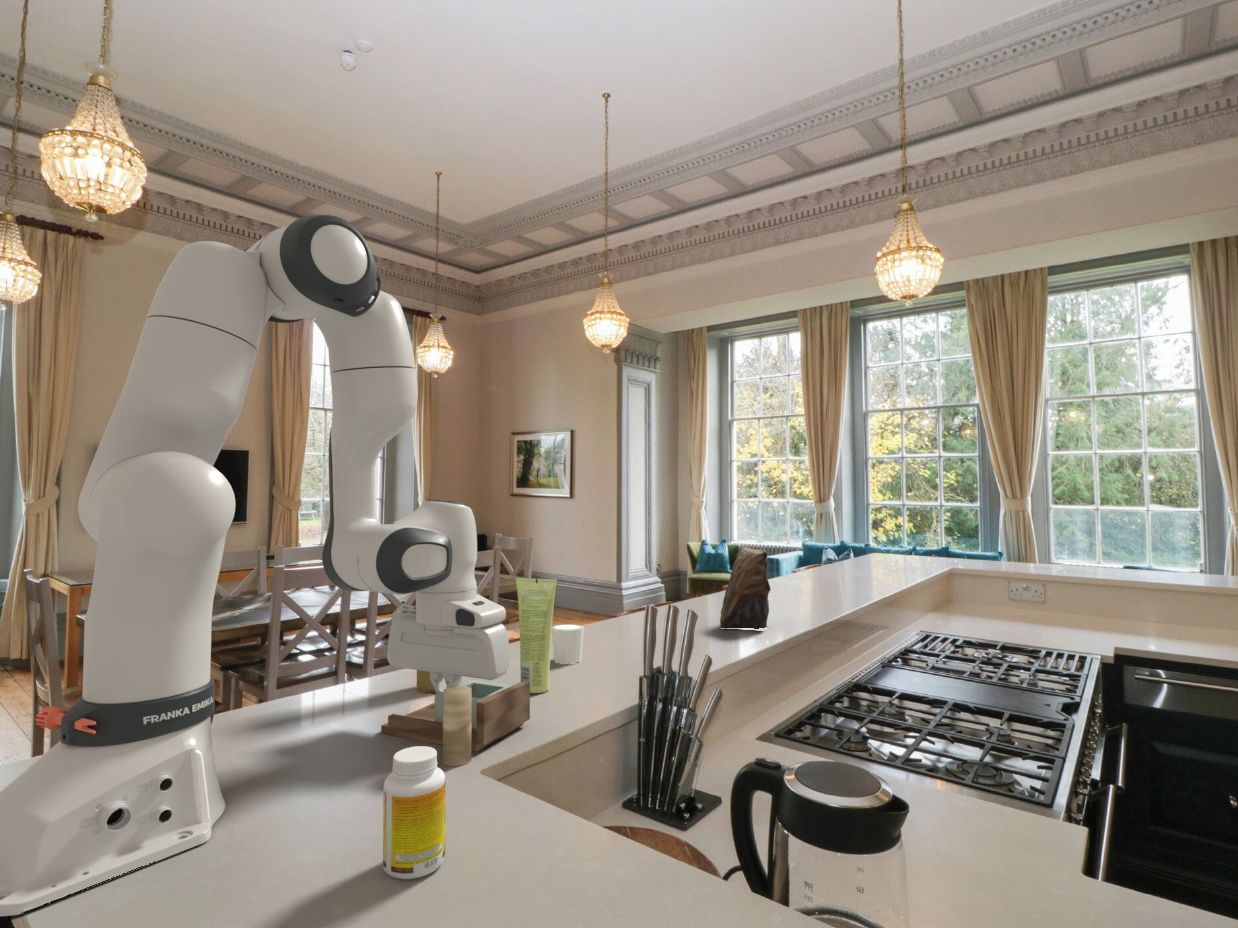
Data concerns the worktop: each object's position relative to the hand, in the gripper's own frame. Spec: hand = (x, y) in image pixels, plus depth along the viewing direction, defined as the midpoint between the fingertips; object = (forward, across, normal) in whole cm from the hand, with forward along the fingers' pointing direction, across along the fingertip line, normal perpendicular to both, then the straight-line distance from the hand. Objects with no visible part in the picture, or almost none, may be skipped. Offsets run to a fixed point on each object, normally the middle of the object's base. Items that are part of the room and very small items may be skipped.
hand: (446, 702), depth 98 cm
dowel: (+4, +9, -9) cm, 14 cm away
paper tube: (+4, -14, +15) cm, 21 cm away
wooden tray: (+4, +1, 0) cm, 4 cm away
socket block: (+2, +6, 0) cm, 6 cm away
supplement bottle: (+4, +21, -30) cm, 37 cm away
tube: (+4, +3, +21) cm, 21 cm away
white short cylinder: (+4, -2, +41) cm, 41 cm away
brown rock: (+4, +22, +89) cm, 92 cm away
